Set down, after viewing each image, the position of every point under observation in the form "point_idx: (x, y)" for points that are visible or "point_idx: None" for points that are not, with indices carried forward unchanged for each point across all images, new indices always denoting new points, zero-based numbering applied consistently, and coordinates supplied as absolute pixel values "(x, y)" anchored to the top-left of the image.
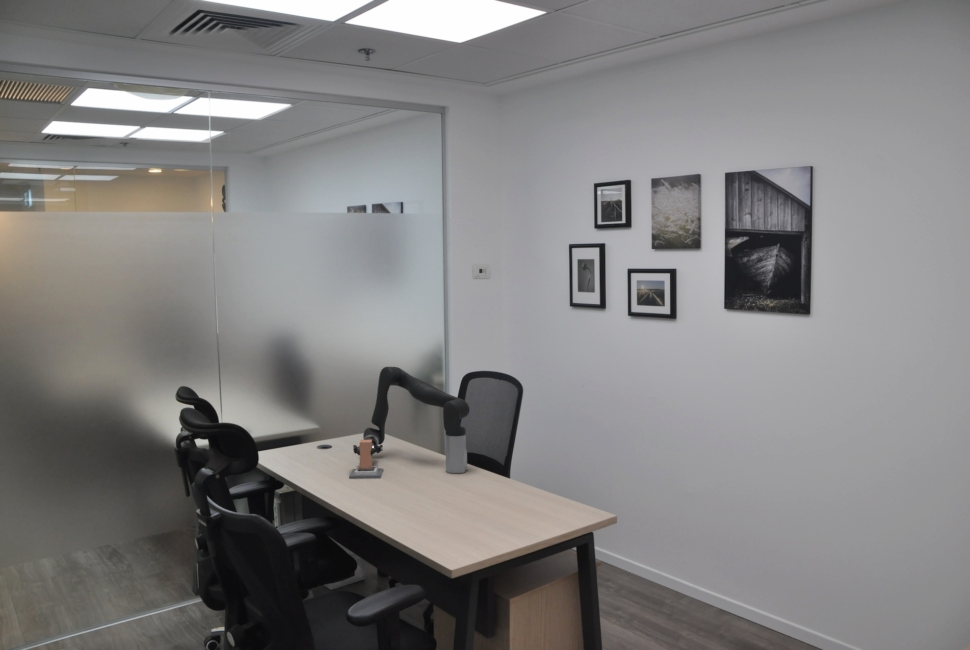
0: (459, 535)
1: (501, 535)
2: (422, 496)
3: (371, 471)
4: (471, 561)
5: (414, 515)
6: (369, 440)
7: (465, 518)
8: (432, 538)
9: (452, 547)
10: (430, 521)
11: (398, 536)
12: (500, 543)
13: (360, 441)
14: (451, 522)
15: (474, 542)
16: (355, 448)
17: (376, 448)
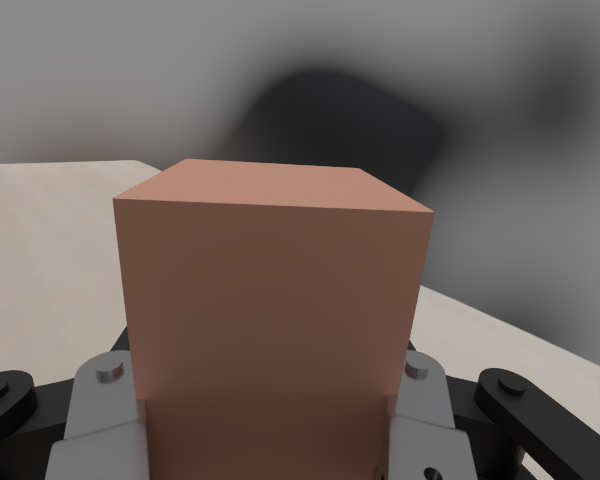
0: (84, 175)
1: (18, 171)
2: (32, 248)
3: None
4: (108, 161)
5: None
6: (198, 182)
7: (25, 190)
8: (129, 175)
9: (113, 168)
10: (104, 191)
11: None
12: (41, 166)
13: (366, 177)
14: (66, 187)
15: (76, 169)
16: (490, 371)
17: (35, 391)
